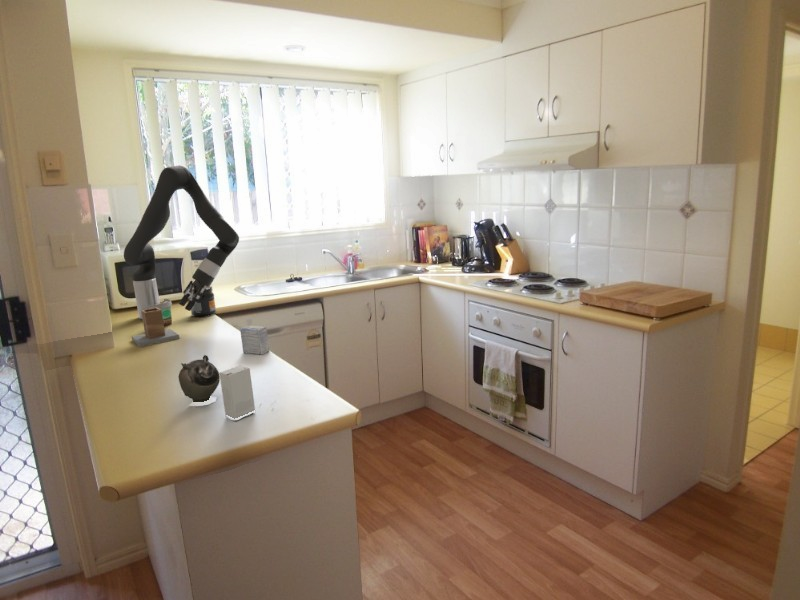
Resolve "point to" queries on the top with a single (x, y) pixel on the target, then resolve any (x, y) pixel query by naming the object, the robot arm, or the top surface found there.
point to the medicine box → (254, 339)
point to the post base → (143, 340)
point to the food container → (164, 311)
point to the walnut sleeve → (153, 322)
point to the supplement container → (204, 304)
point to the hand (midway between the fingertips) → (184, 307)
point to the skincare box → (237, 391)
